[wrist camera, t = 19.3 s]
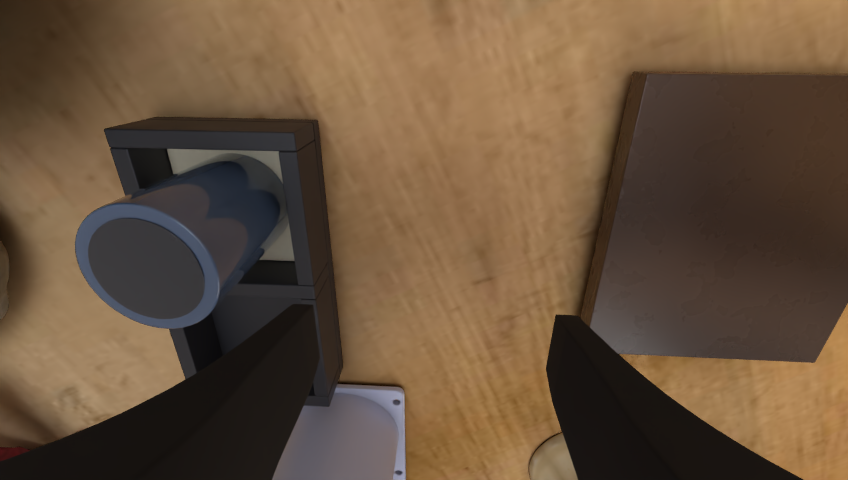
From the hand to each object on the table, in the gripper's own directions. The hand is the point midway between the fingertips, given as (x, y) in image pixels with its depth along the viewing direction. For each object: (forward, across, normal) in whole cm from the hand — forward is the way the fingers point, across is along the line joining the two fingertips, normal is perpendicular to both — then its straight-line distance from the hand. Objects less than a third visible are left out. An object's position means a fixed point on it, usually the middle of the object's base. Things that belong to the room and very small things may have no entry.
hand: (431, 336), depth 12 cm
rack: (+10, +10, +3) cm, 14 cm away
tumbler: (+9, +10, -1) cm, 13 cm away
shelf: (+10, -14, 0) cm, 17 cm away
